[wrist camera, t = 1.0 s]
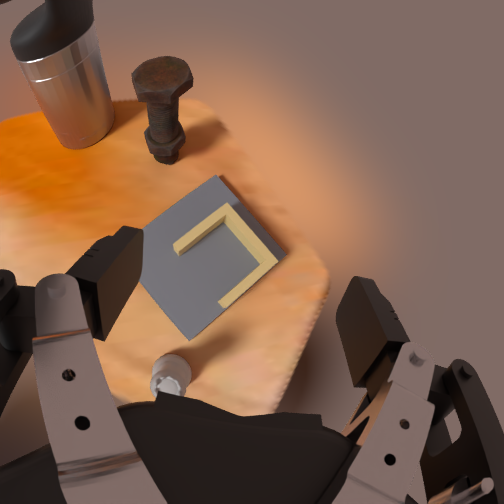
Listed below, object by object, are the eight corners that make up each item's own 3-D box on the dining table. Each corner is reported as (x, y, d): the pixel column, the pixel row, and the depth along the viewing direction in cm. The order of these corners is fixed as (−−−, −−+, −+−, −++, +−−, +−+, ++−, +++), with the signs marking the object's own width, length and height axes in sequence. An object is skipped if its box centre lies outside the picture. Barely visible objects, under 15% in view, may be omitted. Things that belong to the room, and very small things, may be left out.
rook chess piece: (177, 398, 29) (174, 421, 21) (145, 375, 29) (132, 392, 21) (199, 369, 30) (203, 385, 23) (167, 345, 30) (160, 354, 22)
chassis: (118, 252, 31) (110, 244, 28) (215, 178, 36) (218, 164, 32) (189, 340, 31) (189, 343, 27) (284, 256, 35) (294, 250, 32)
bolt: (167, 132, 36) (165, 48, 21) (195, 151, 36) (204, 67, 22) (137, 161, 34) (118, 79, 20) (165, 182, 34) (157, 102, 20)
